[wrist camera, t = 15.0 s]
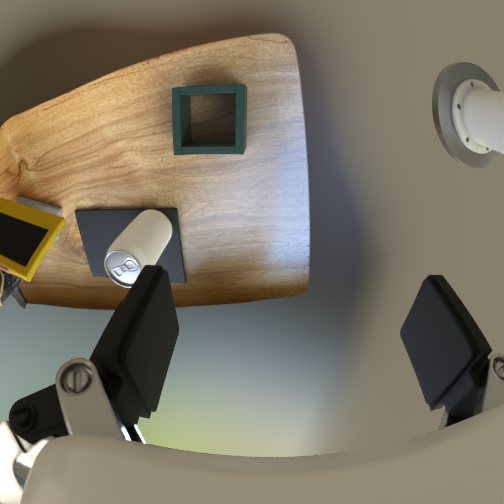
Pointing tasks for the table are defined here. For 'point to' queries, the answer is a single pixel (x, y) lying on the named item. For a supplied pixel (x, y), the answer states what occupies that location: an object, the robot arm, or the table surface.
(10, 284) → the lantern
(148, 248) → the can
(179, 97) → the box
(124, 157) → the table surface
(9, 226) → the yellow framed monitor
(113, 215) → the mat
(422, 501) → the robot arm
